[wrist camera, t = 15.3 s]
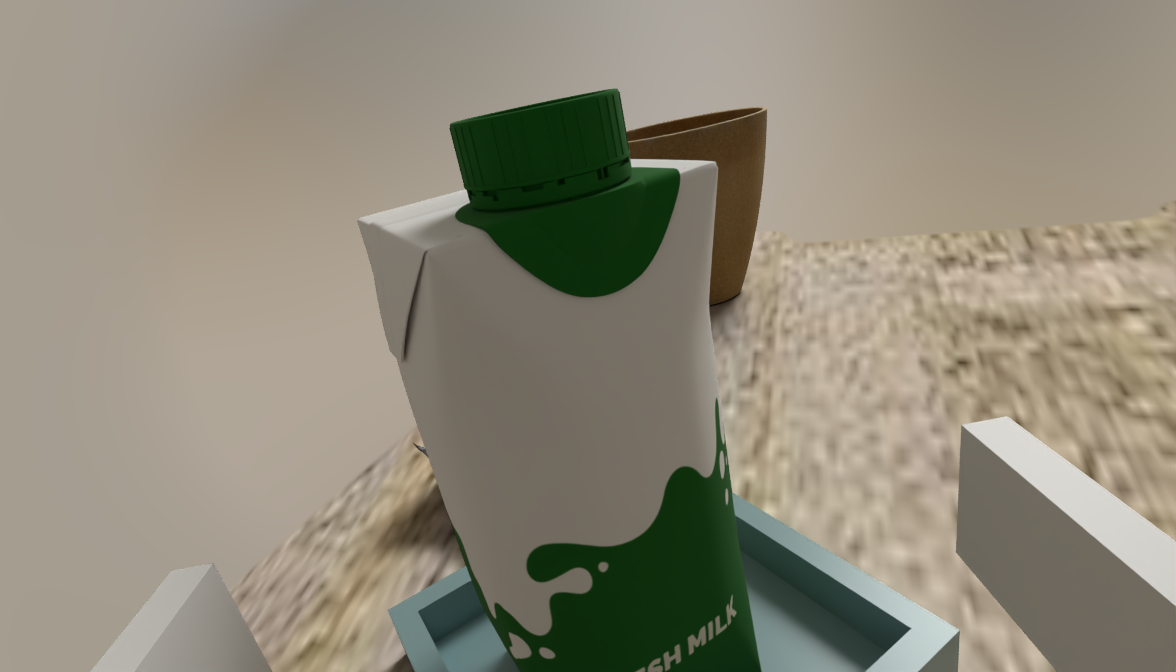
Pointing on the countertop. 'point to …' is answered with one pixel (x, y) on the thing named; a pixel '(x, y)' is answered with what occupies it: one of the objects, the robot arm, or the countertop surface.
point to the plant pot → (718, 180)
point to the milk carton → (573, 390)
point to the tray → (777, 601)
